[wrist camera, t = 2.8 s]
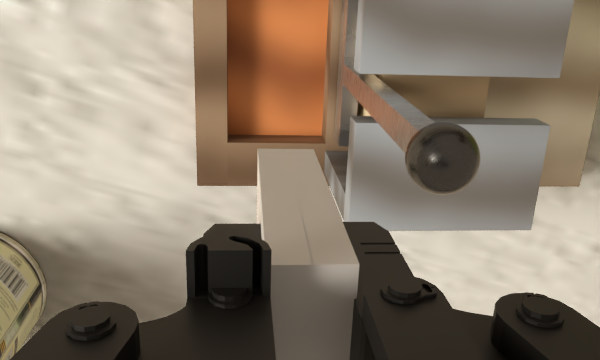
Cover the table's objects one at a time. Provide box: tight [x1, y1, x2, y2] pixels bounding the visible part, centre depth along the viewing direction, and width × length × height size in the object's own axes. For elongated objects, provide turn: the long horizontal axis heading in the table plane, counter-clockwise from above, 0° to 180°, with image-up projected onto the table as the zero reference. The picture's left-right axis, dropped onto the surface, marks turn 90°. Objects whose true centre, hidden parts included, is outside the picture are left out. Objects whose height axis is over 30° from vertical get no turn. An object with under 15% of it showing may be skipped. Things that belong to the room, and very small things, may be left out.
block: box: [357, 74, 490, 118], centre depth 34 cm, size 6×6×6 cm
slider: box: [334, 0, 480, 195], centre depth 27 cm, size 9×10×20 cm
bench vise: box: [193, 0, 600, 231], centre depth 34 cm, size 16×27×12 cm, turn 88°
